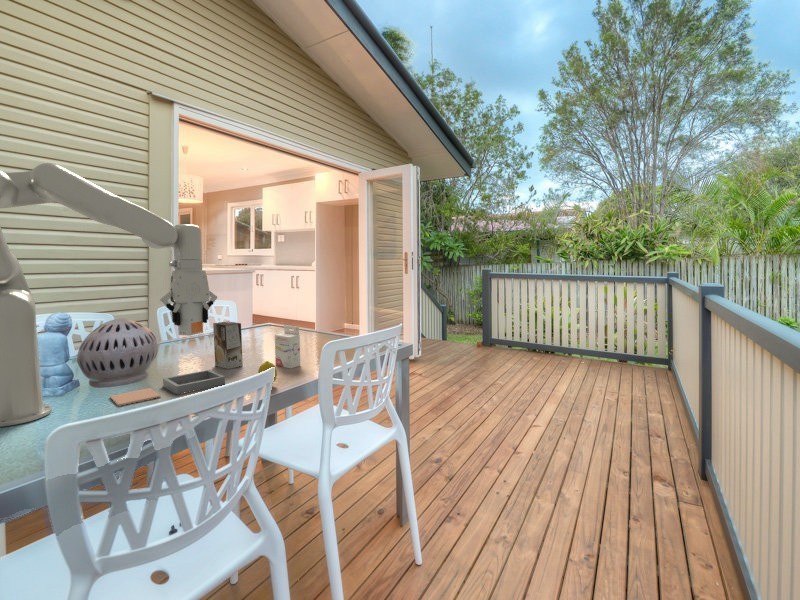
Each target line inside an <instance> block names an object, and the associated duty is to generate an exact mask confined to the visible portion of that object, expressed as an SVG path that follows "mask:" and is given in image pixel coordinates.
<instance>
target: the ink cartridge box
mask: <svg viewBox="0 0 800 600" xmlns="http://www.w3.org/2000/svg"><path fill="white" fill-rule="evenodd" d="M290 329H291V330H290ZM283 331H284V332H281V333H277V334H275V335H274V346H275V347H274V350H275V351H274V355H275V359H274V361H275V366H278V367H282V368H287V369H295V368H297V367H301V339H300V338H301V335H300V327H299V326H295V325H294V326H293V325H285V324H284V325H283Z"/></svg>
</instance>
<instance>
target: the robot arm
mask: <svg viewBox="0 0 800 600" xmlns="http://www.w3.org/2000/svg"><path fill="white" fill-rule="evenodd" d="M55 202H56V203H58V204H59V205H61V206H64V207H67V208H68V209H71V210H73V211H74V212H75V213H78V214H80V215H83V216H84V217H87V218H88V219H91V220H93V221H95V222H97V223H100V224H102V225H103V224H104V225H107V226H110V227H111V226H113V227H116V228H119V229H122V230H124V231H125V232H128V233H131V234H133V235H134V236H136V237H139V238H140V239H141V240H142V241H143V243H144V244H145V245H146V246H148V247H149V248H152V249H159V250H160V249H166V248H167V249H169V248H173V260H172V261H169V262H168V266H169V267H172V268H173V269H174V270H172V271H171V275H170V284H169V291H168V292H167V293H166V294H165V295H164V296H162V297H160V299H159V302H161V304H163V306H165V307H166V309H167V310H169V311H170V312H171V317H172V318H171V319H172V320H171V321H172V323H173V325H174V326H177V327H178V326H179V325H180V313H179V312H178V309H179V308H180V306H181V304H187V303H188V296H191V300H192V303H202V307H203V324H207V323H208V320H209V311H210V308H211V307H212V306H213V305H214V303H215V302H216V300H217V299H218V296H217V295H216V294H215V293H213V292H212V291H210V287H209V281H208V274H207V271H206V270H204V269H203V254H202V231H201V228H200V227H199V226H198V225H196V224H187V223H186V224H185V223H183V224H182V223H180V224H178V223H177V224H175V225H174V224H172V223H171V222H170V221H168V220H167V219H164V218H162V217H161V216H159V215H158V214H156V213H154V212H151V211H149V210H148V209H146V208H145V207H143V206H140V205H137V204H135V203H134V202H131V201H129V200H127V199H124V198H122V197H121V196H118V195H116V194H114V193H112V192H110V191H108V190H105V189H104V188H102V187H100V186H98V185H96V184H94V183H93V182H91V181H89V180H87V179H85V178H84V177H82V176H80V175H78V174H76V173H74V172H72V171H70V170H69V169H67V168H65V167H63V166H61V165H58V164H55V163H51V162H50V163H49V162H43V163H40V164H37V165H36V166H35V167H34V168H33V169H32V170H28V171H17V172H4V171H3V170H0V209H7V208H8V209H9V208H16V207H17V208H18V207H25V206H26V207H27V206H36V205H42V204H43V205H44V204H50V203H55ZM169 299H170V302H172V303H173V304H171V303H170V302H169ZM36 312H37V311H36V302H35V299H34V297H33V294H32V292H31V289H30V286H29V284H28V282H27V279H26V276H25V275H24V272H23V269H22V267H21V263H20V262H19V260H18V258H17V256H16V255H15V254H14V253H12V252H11V249H10V248H9V245H8V243H7V241H6V238H5V236H4V233H3V230H2V227H1V226H0V428H2V427H9V426H10V427H11V426H14V425H20V424H25V423H30V422H32V421H36V420H39V419H42V418H44V417H45V416H48V415H50V414H51V413H52V406H51V405H49V404H44V402H43V401H44V400H43V399H44V398H43V389H42V376H41V365H40V364H41V363H40V352H39V342H38V331H37V314H36Z"/></svg>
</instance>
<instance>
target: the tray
mask: <svg viewBox="0 0 800 600" xmlns="http://www.w3.org/2000/svg"><path fill="white" fill-rule="evenodd" d="M223 384H224V385H226V376H225V375H223V374H220V373H218V372H215V371H213V370H211V369H206V370H200V371H195V372H189V373H184V374H180V375H179V374H178V375H174V376H169V377H164V378H162V387H164V388H165V389H167V390H168V389H169V390H168V391H170V392H172V393H173V392H174V393H173V394H175V395H176V394H177V396H179V395H182V394H181V393H183V394H185V393H184V392H188V393H190V392H189V391H193V390H195V391H193V392H196V391H200V390H199V389H202V390H205V388H206V389H211V388H215V387H221V386H224V385H223ZM178 394H179V395H178Z"/></svg>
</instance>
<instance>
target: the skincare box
mask: <svg viewBox="0 0 800 600" xmlns="http://www.w3.org/2000/svg"><path fill="white" fill-rule="evenodd" d="M178 312H179V313H180V325H179V326H177V328H178V330H177V331H178V336H193V335H198V334H203V333H204V323H203V307H202V303H192V300H191V296H188V303H187V304H181V306H180V308H179V309H178Z"/></svg>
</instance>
